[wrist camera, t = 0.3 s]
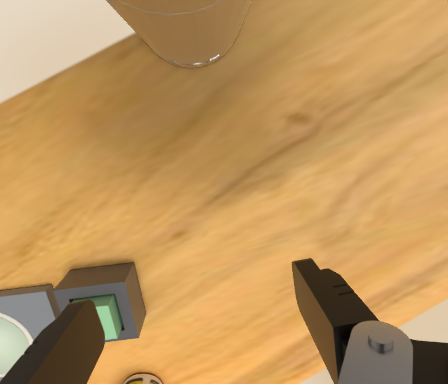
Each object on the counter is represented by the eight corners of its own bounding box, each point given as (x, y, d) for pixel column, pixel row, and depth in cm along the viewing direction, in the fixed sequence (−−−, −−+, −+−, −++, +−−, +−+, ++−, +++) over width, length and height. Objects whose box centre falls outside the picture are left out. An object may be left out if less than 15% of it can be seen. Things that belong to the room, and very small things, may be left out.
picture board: (-95, 302, 30) (-109, 311, 28) (51, 284, 30) (44, 292, 29) (-26, 426, 35) (-35, 439, 34) (95, 410, 36) (91, 422, 34)
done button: (77, 294, 28) (65, 310, 25) (116, 289, 28) (108, 305, 25) (87, 325, 29) (77, 343, 27) (124, 320, 29) (117, 338, 27)
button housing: (70, 270, 29) (52, 290, 26) (134, 262, 30) (124, 281, 26) (86, 321, 32) (72, 346, 28) (146, 313, 32) (138, 337, 28)
